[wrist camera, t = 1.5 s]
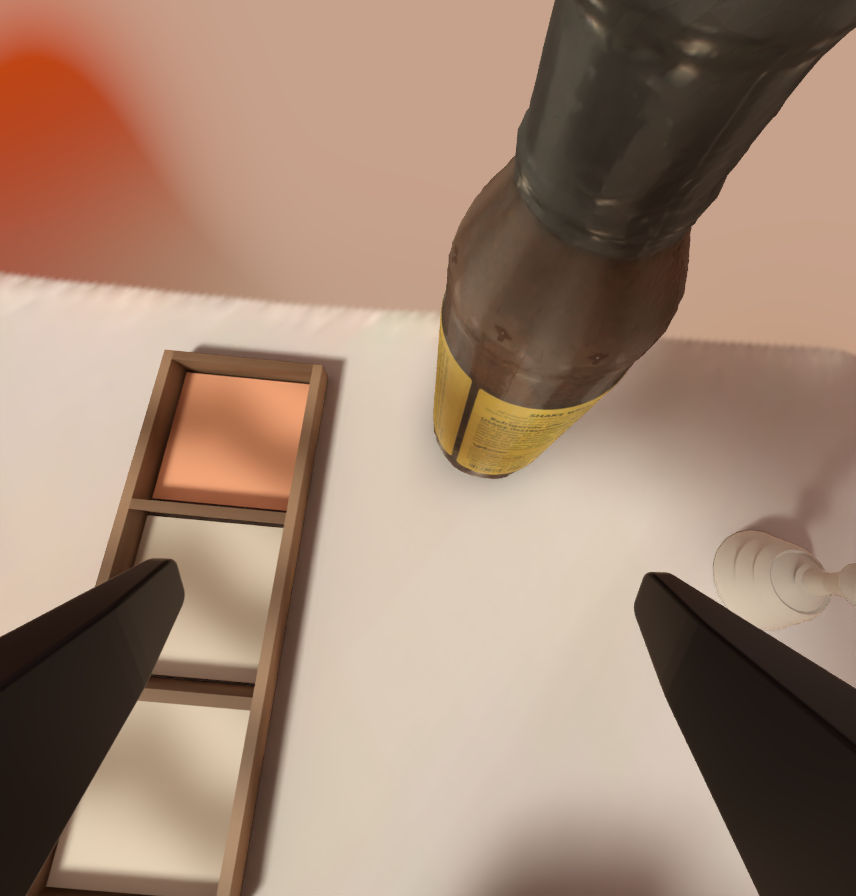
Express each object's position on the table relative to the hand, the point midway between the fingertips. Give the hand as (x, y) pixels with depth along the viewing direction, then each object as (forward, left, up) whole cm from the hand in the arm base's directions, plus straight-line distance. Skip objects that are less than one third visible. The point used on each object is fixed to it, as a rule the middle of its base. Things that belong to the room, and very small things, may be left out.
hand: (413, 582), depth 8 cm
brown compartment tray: (+7, +8, -13) cm, 17 cm away
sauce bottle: (+2, -8, -14) cm, 16 cm away
